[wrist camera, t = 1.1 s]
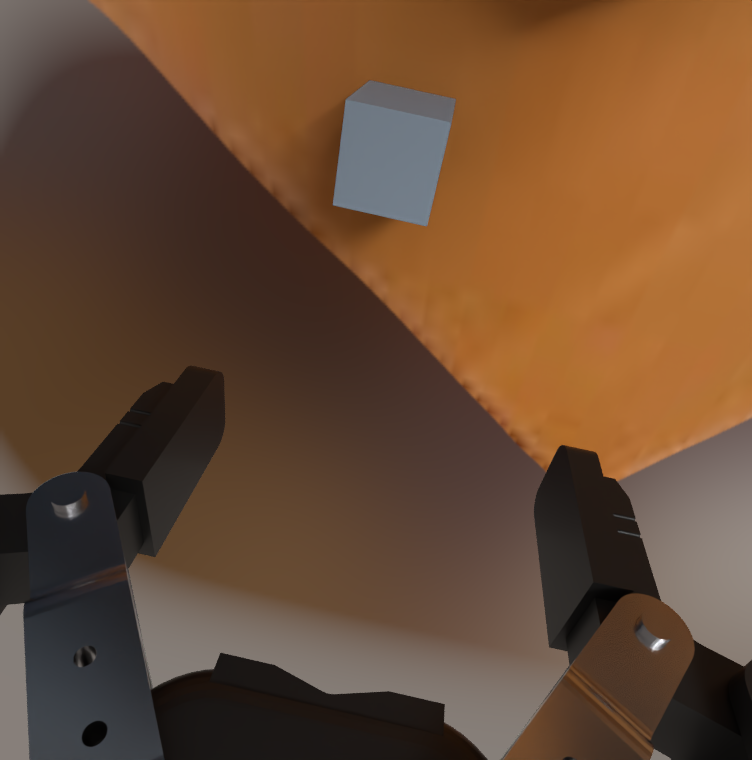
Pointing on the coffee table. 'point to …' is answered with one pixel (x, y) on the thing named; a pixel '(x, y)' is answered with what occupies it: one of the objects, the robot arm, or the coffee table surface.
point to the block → (392, 151)
